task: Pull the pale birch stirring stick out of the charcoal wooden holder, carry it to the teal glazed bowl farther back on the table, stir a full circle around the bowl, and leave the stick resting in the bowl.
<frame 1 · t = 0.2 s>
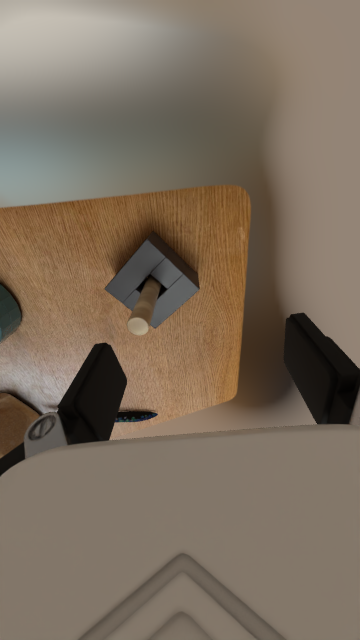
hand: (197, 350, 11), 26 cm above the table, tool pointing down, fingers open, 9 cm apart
stone cup: (21, 405, 58), on the table
knife: (103, 410, 58), on the table
holder: (156, 275, 37), on the table
stick: (149, 295, 30), in the holder
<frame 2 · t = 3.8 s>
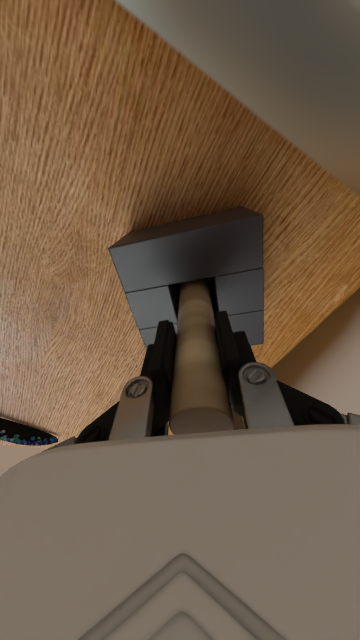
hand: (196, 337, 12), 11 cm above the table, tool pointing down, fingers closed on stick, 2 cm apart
holder: (193, 274, 21), on the table
stick: (195, 315, 15), in the holder, touching gripper
when the fingers open (11 cm above the table, at t = 14.8 s): stick stays where it is, resting on bowl.
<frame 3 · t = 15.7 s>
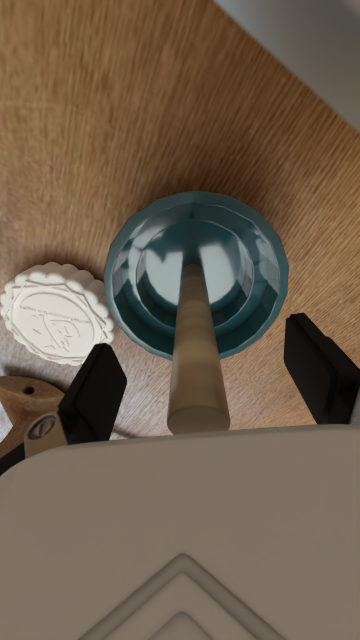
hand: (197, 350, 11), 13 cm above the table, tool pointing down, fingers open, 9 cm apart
stone cup: (51, 404, 35), on the table
bowl: (193, 271, 22), on the table
mooncake: (72, 310, 25), on the table
stick: (194, 315, 15), in the bowl, point 9 cm above the table
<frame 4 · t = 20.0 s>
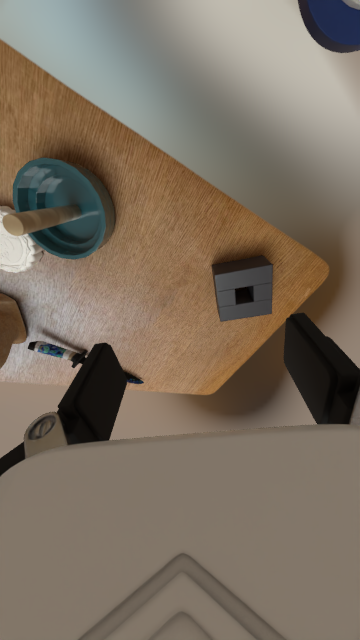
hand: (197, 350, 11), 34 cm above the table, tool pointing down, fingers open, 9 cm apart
stone cup: (11, 315, 52), on the table
knife: (95, 358, 59), on the table
holder: (238, 283, 45), on the table
bowl: (76, 210, 39), on the table
mooncake: (13, 238, 42), on the table
stick: (50, 217, 32), in the bowl, point 9 cm above the table
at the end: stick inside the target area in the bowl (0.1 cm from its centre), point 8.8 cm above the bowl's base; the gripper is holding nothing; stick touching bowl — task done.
